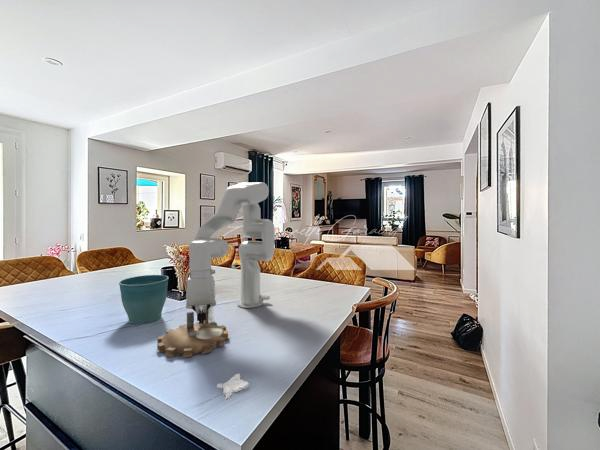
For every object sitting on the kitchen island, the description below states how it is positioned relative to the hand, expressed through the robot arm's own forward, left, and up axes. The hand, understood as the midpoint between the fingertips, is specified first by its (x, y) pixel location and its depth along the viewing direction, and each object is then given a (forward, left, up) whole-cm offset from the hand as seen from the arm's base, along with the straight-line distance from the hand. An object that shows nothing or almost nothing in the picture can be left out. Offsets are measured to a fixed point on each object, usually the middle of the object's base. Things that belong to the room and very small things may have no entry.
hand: (201, 322), depth 102 cm
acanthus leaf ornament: (-9, +37, -5) cm, 38 cm away
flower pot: (+24, -20, -4) cm, 31 cm away
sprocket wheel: (+2, +7, -4) cm, 8 cm away
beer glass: (-1, -10, -4) cm, 11 cm away
